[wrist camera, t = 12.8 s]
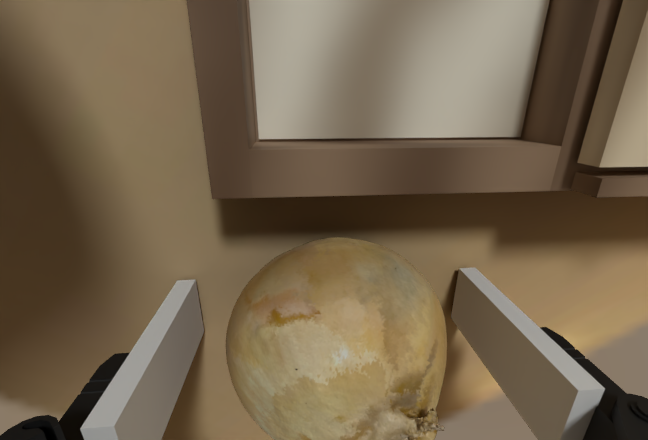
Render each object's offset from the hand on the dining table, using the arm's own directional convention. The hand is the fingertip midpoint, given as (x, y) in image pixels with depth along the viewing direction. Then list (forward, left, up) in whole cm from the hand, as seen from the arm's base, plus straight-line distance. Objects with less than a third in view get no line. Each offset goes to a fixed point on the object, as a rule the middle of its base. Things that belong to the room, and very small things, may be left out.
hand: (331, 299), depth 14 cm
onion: (0, 0, -1) cm, 1 cm away
